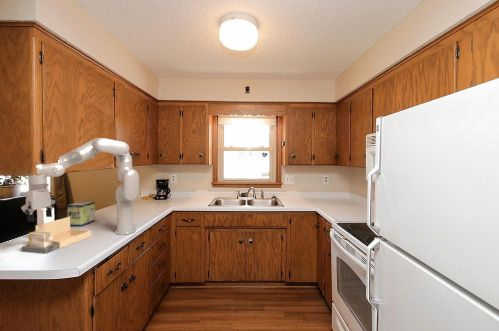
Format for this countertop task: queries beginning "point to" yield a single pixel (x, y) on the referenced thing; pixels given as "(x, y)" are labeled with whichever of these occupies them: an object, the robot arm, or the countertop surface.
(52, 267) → the countertop surface
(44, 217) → the milk
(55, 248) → the block
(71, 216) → the protein box
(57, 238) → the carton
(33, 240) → the block
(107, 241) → the countertop surface
